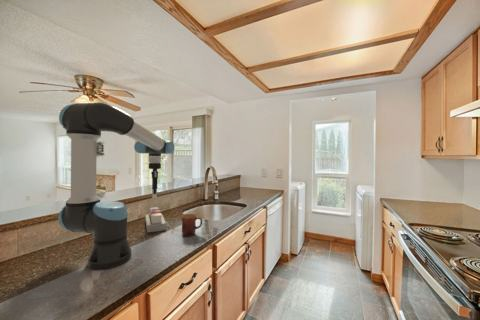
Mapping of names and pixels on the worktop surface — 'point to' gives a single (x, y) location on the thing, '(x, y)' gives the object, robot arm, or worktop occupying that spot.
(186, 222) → the mug
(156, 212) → the red key
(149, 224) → the key panel
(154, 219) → the white key
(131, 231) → the worktop surface
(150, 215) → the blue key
